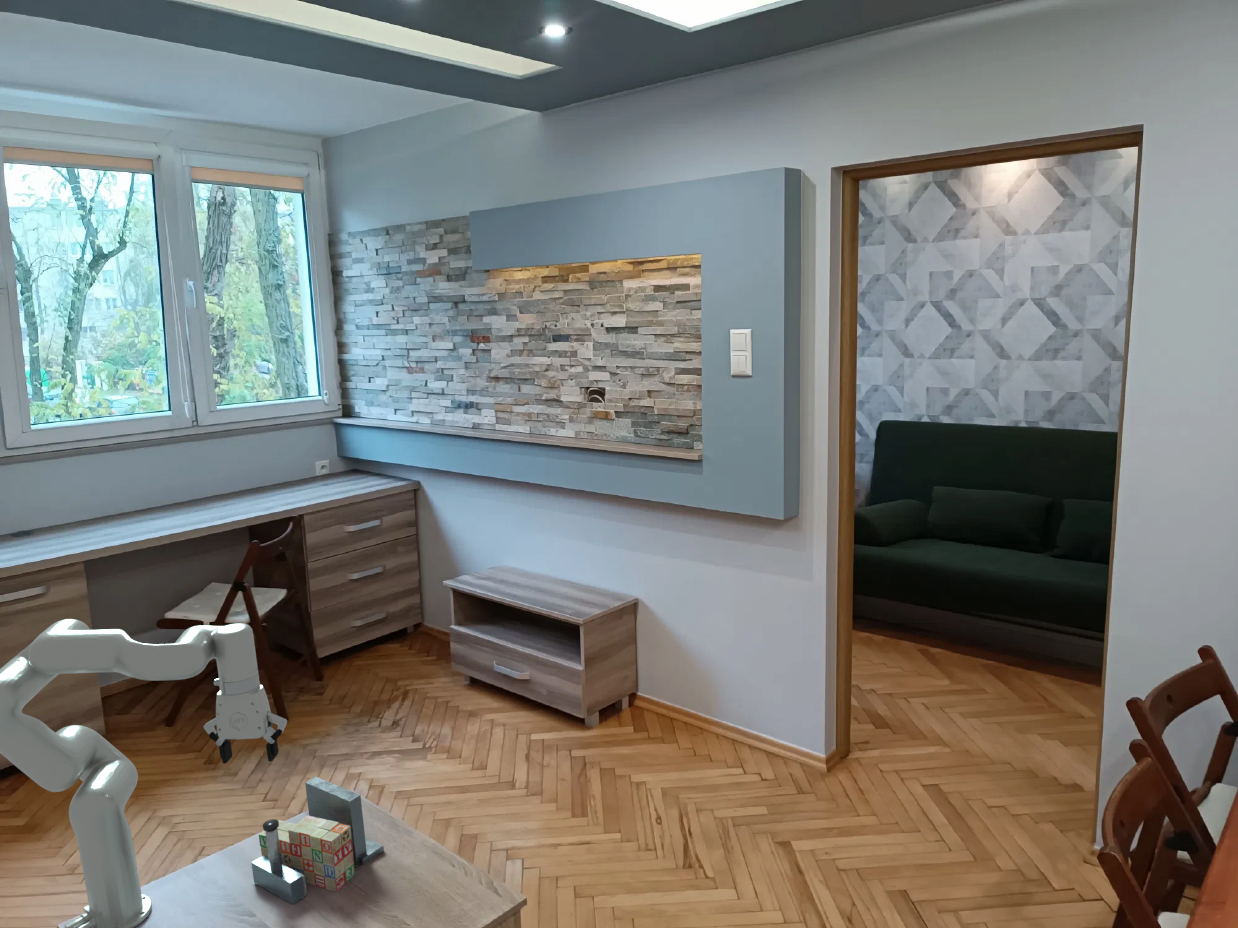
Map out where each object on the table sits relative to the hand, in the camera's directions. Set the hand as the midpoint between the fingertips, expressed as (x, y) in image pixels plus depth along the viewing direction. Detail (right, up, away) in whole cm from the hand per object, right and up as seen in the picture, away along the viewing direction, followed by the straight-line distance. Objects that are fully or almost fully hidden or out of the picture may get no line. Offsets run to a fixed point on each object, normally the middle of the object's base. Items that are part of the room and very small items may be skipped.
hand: (250, 759), depth 187 cm
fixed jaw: (+14, -28, +20) cm, 37 cm away
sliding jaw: (+4, -31, +6) cm, 31 cm away
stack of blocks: (+8, -30, +12) cm, 33 cm away
